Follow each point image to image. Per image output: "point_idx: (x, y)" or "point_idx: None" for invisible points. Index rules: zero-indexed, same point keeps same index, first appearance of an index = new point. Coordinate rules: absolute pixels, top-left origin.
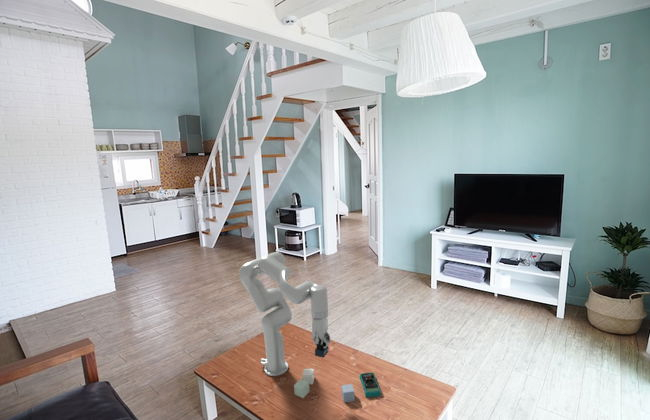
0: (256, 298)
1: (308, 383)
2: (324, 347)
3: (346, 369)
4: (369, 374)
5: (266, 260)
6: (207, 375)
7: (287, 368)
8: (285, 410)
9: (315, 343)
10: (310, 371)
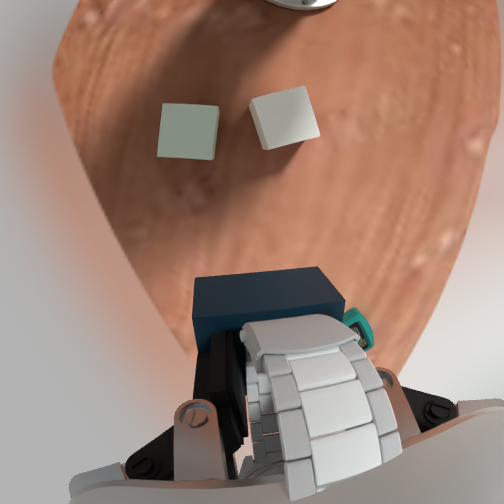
0: None
1: (208, 159)
2: (257, 400)
3: (388, 246)
4: (363, 341)
5: None
6: None
7: (308, 8)
8: (88, 132)
9: (75, 477)
10: (294, 128)
